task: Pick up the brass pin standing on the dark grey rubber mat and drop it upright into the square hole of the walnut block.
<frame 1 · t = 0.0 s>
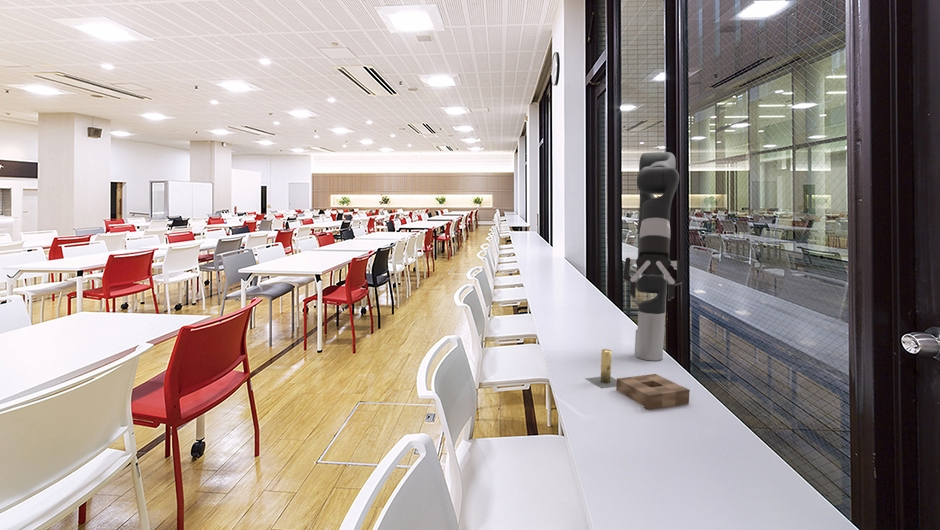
hand: (651, 298, 124), 31 cm above the counter, tool tilted 20°, fingers open, 8 cm apart
rubber mat: (605, 383, 152), on the counter
walnut block: (651, 397, 141), on the counter
brass pin: (605, 381, 152), resting on rubber mat
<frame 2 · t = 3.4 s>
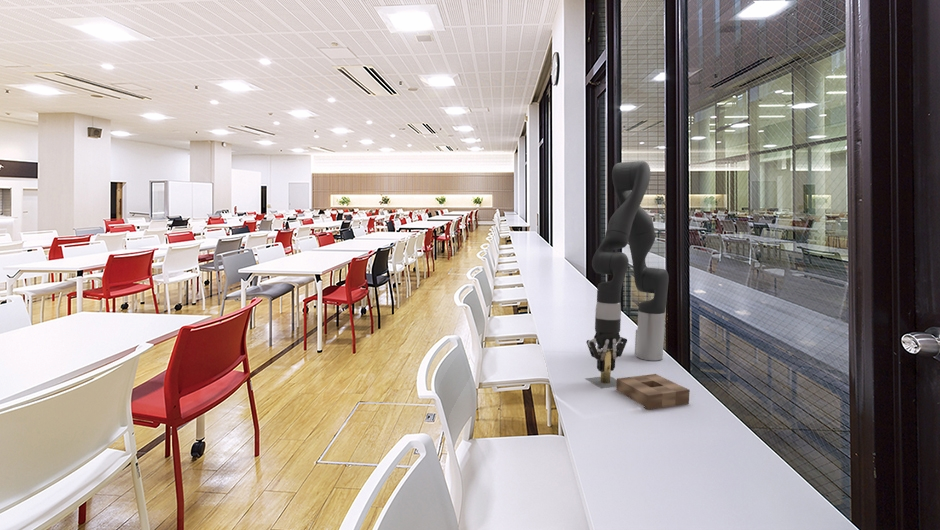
hand: (605, 370, 151), 4 cm above the counter, tool pointing down, fingers closed on brass pin, 3 cm apart
brass pin: (605, 381, 152), point 1 cm above the counter, touching gripper, rubber mat
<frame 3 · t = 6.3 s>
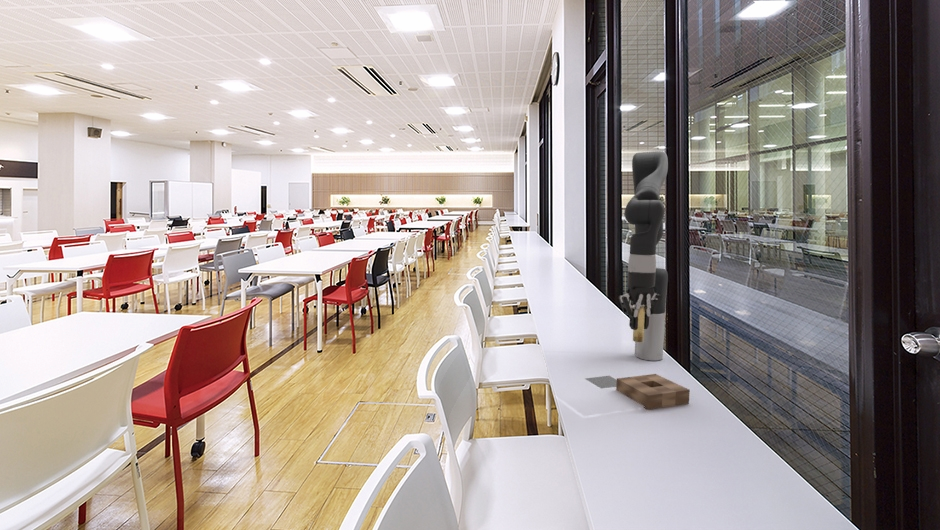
hand: (638, 328, 142), 19 cm above the counter, tool pointing down, fingers closed on brass pin, 3 cm apart
brass pin: (638, 340, 142), point 16 cm above the counter, touching gripper
when the fingers open (5 cm above the counter, at t = 9.0 s): brass pin drops 1 cm, resting in walnut block.
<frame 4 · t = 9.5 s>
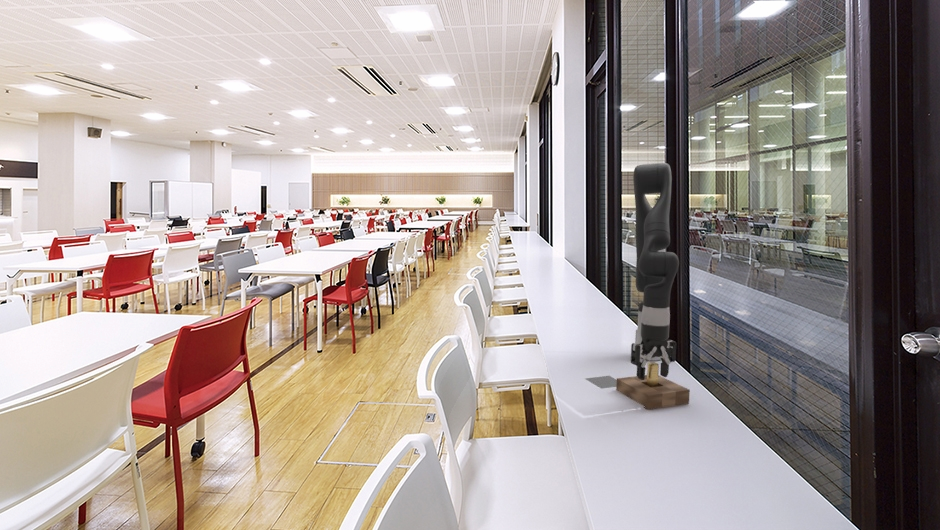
hand: (652, 377, 140), 6 cm above the counter, tool pointing down, fingers open, 7 cm apart
brass pin: (651, 397, 141), resting in walnut block
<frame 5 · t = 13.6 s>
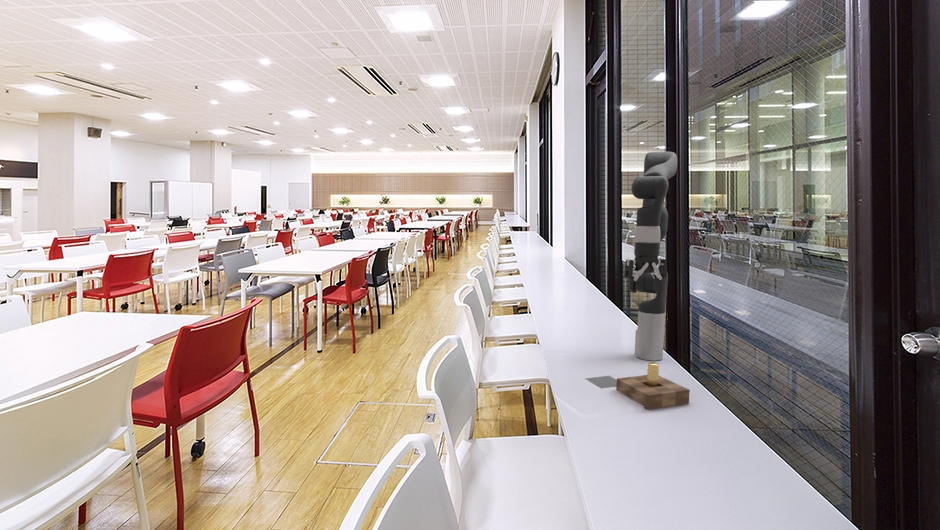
hand: (644, 291, 154), 28 cm above the counter, tool pointing down, fingers open, 8 cm apart
nothing on the counter moved.
at the end: brass pin 0.1 cm off-centre on the walnut block, point 0.0 cm above the walnut block's base; brass pin tilted 0°; the gripper is holding nothing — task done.
